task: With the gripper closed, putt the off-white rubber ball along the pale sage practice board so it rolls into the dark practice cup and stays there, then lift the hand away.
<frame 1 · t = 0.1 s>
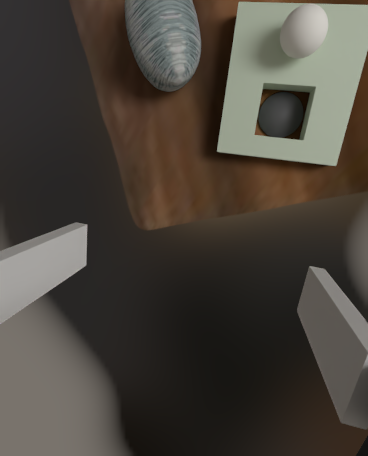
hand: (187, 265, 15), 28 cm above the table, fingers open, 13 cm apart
ball: (303, 32, 30), point 5 cm above the table, touching green board
grey streaked egg: (172, 46, 38), on the table
green board: (285, 92, 36), on the table
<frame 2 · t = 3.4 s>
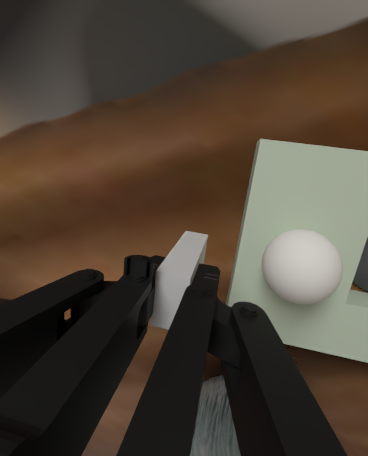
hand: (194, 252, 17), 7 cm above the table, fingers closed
ball: (299, 266, 18), point 5 cm above the table, touching green board
grey streaked egg: (247, 390, 28), on the table
green board: (345, 252, 22), on the table
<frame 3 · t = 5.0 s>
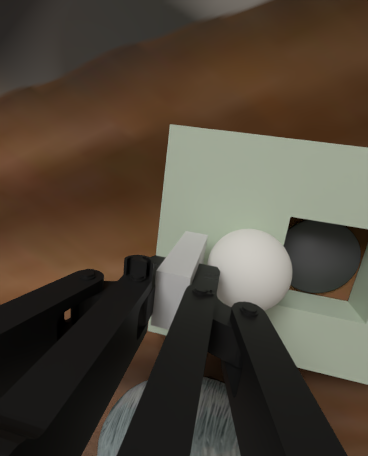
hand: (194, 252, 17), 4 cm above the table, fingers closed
ball: (248, 269, 16), point 5 cm above the table, tilted 55°, touching green board
grey streaked egg: (187, 394, 26), on the table
green board: (276, 248, 21), on the table
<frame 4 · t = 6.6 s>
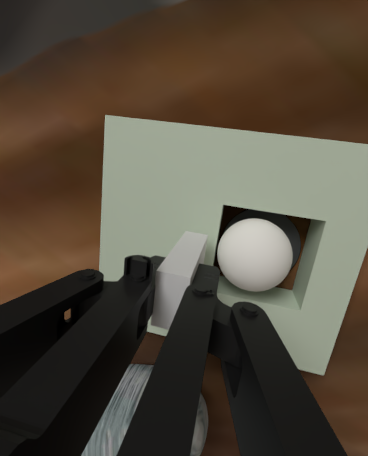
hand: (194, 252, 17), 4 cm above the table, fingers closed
ball: (253, 254, 18), point 3 cm above the table, tilted 172°, touching green board
grey streaked egg: (146, 384, 27), on the table
green board: (221, 238, 21), on the table
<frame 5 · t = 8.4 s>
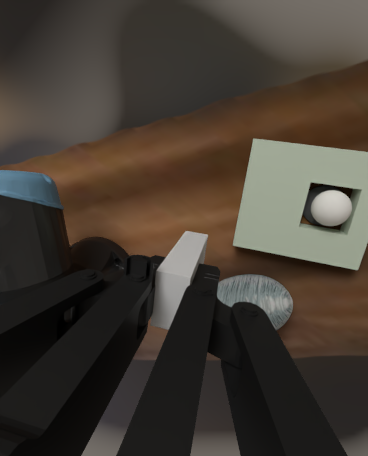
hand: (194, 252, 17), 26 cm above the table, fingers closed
ball: (330, 208, 36), point 3 cm above the table, tilted 152°, touching green board
grey streaked egg: (247, 291, 45), on the table
green board: (302, 202, 39), on the table
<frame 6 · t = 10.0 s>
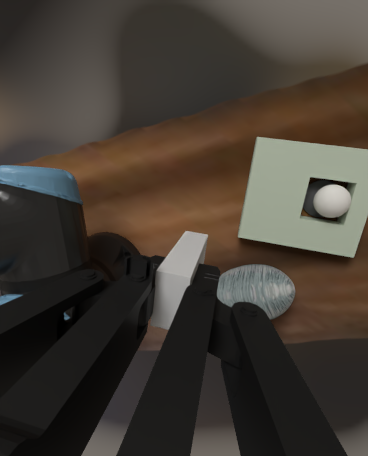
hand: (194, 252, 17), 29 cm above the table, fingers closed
ball: (331, 201, 39), point 3 cm above the table, tilted 142°, touching green board
grey streaked egg: (250, 281, 48), on the table
green board: (301, 196, 43), on the table
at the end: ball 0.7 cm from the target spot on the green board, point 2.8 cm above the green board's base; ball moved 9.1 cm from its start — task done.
